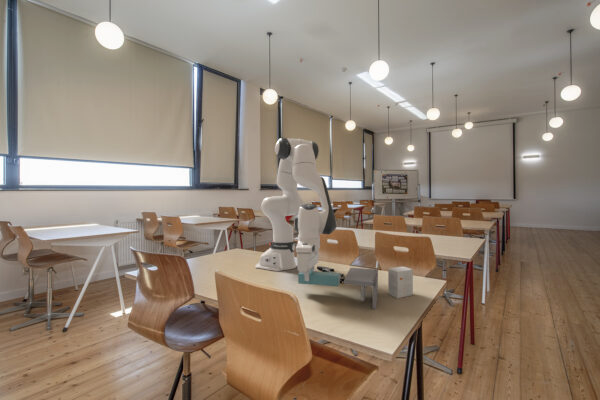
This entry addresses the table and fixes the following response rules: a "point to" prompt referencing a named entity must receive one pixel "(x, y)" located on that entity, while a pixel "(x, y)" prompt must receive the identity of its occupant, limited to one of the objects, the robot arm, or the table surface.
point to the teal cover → (320, 278)
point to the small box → (400, 282)
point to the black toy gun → (327, 269)
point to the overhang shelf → (364, 281)
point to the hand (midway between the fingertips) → (309, 278)
